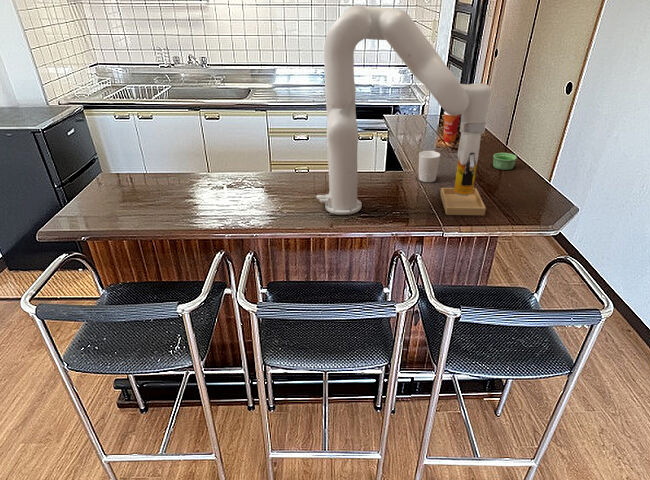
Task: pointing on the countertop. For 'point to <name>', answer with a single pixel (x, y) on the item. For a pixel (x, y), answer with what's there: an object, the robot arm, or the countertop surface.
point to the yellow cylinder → (459, 188)
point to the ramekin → (504, 161)
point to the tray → (462, 203)
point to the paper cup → (450, 127)
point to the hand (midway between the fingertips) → (464, 180)
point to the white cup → (428, 165)
